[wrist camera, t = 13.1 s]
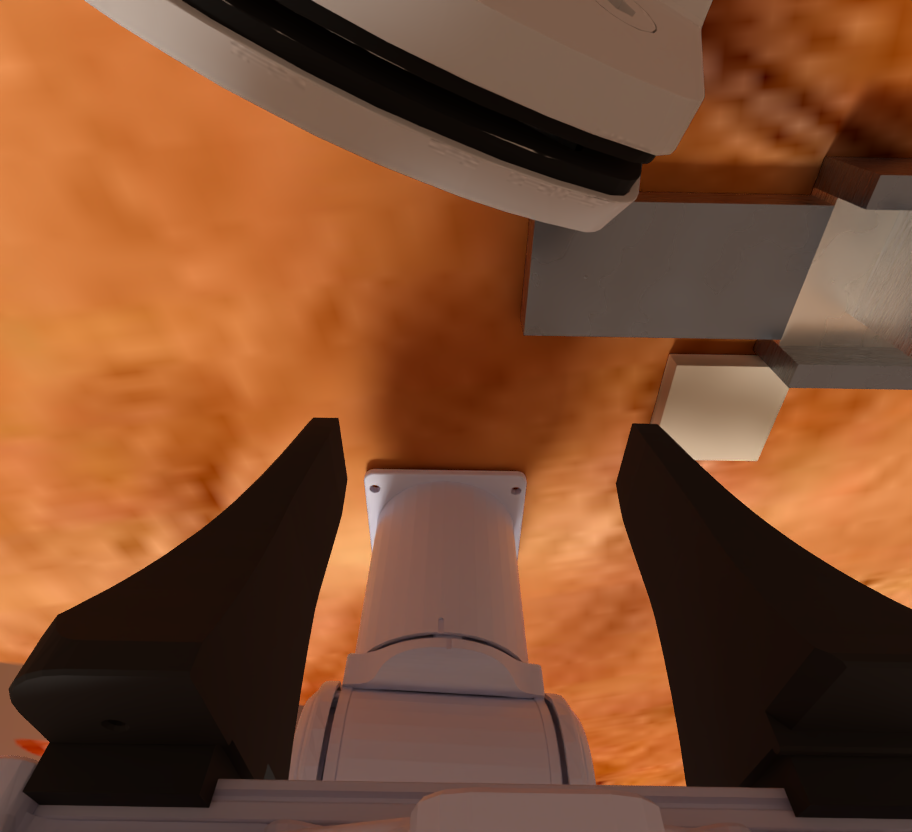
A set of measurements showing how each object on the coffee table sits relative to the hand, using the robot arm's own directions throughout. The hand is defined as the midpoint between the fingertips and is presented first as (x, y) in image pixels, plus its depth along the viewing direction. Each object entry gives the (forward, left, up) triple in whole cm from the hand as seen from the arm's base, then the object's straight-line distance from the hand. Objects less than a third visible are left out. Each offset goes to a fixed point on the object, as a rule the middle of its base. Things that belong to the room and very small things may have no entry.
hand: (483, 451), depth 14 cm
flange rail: (+2, -11, -10) cm, 15 cm away
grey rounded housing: (+10, +2, -10) cm, 15 cm away
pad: (-5, -11, -10) cm, 16 cm away
